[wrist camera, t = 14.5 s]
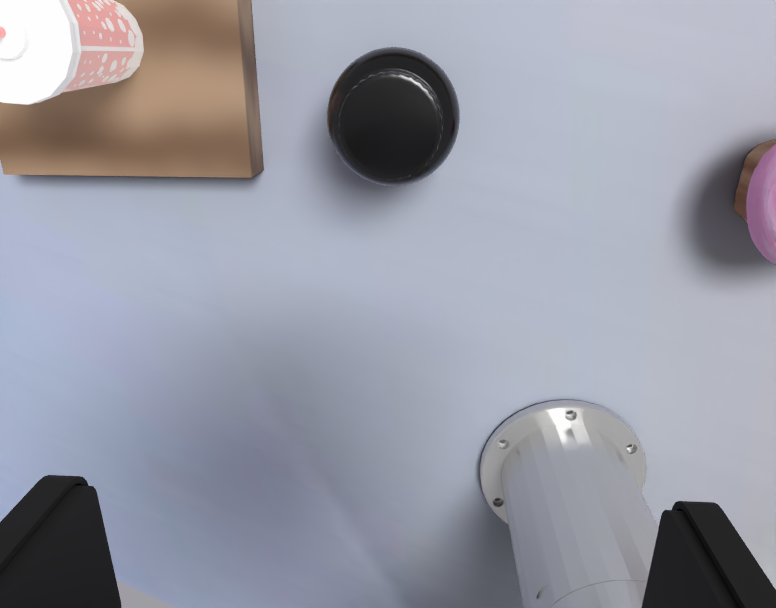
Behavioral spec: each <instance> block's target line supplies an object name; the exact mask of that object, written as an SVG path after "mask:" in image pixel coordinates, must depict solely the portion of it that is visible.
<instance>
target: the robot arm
mask: <svg viewBox="0 0 776 608" xmlns="http://www.w3.org/2000/svg"><path fill="white" fill-rule="evenodd" d="M646 467H647V466H646V460H645V453H644V451H643V449H642V446H641V444H640V442H639V440H638V438H637V437H636V435H635V433H634V432H633V430H632V429H631V428H630V427H629V426H628V424H627V423H626V422H625V421H624V420H623V419H622V418H620V417H619V416H617V415H616V414H614V413H613V412H612V411H610V410H608V409H605V408H603V407H601V406H599V405H596V404H592V403H588V402H584V401H575V400H558V401H548V402H544V403H540V404H537V405H533V406H531V407H528V408H526V409H524V410H522V411H519V412H518V413H516V414H515V415H513V416H512V417H510V418H509V419H507V420H506V421H505V422H504V423H503V424H502V425H500V426H499V427H498V428H497V429H496V430H495V432H494V433H493V434H492V436H491V437H490V439H489V440H488V442H487V444H486V446H485V448H484V451H483V453H482V458H481V463H480V479H481V485H482V490H483V493H484V496H485V498H486V501H487V503H488V504H489V506H490V507H491V509H492V510H493V511H494V513H495V514H496V515H497V516H498V517H499V518H500V519H501V520H503V521H504V522H505V523H506V524H508V525H509V531H510V536H511V542H512V547H513V553H514V559H515V564H516V570H517V576H518V581H519V587H520V592H521V598H522V604H523V608H776V590H775V588H774V587H773V585H772V584H771V582H770V581H769V579H768V578H767V576H766V575H765V573H764V572H763V570H762V569H761V567H760V566H759V564H758V563H757V561H756V560H755V558H754V557H753V555H752V554H751V552H750V551H749V549H748V548H747V546H746V545H745V543H744V542H743V540H742V539H741V537H740V536H739V534H738V533H737V531H736V530H735V528H734V527H733V525H732V523H731V522H730V520H729V519H728V517H727V516H726V514H725V513H724V511H723V510H722V509H721V508H720V506H719V505H718V504H716V503H711V502H687V501H678V502H676V503H675V504H674V505H673V508H672V510H665V511H664V512H663V513H662V516H661V520H660V524H659V527H658V525H657V523H656V521H655V519H654V517H653V515H652V513H651V511H650V509H649V507H648V505H647V503H646V501H645V499H644V497H643V495H642V493H641V492H642V489H643V486H644V482H645V479H646ZM0 608H121V600H120V596H119V591H118V587H117V582H116V578H115V573H114V569H113V564H112V560H111V555H110V551H109V546H108V542H107V537H106V532H105V528H104V523H103V519H102V514H101V510H100V505H99V501H98V496H97V492H96V490H95V488H94V487H93V486H88V483H87V481H86V480H85V479H84V478H83V477H80V476H57V475H48V476H45V477H43V478H42V479H41V480H39V481H38V482H37V483H36V484H35V486H34V487H33V488H32V489H31V490H30V491H29V492H28V493H27V494H26V495H25V496H24V497H23V498H22V500H21V501H20V502H19V503H18V504H17V505H16V506H15V507H14V508H13V509H12V510H11V511H10V512H9V514H8V515H7V516H6V517H5V518H4V519H3V520H2V521H1V522H0Z"/></svg>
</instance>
